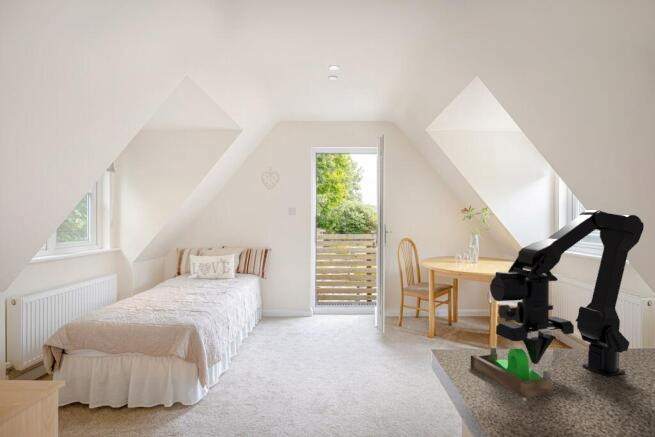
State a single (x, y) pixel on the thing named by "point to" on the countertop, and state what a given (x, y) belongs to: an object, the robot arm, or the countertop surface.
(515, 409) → the countertop surface
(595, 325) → the robot arm
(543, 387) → the dock bracket
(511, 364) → the mechanical part
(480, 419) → the countertop surface
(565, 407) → the countertop surface
